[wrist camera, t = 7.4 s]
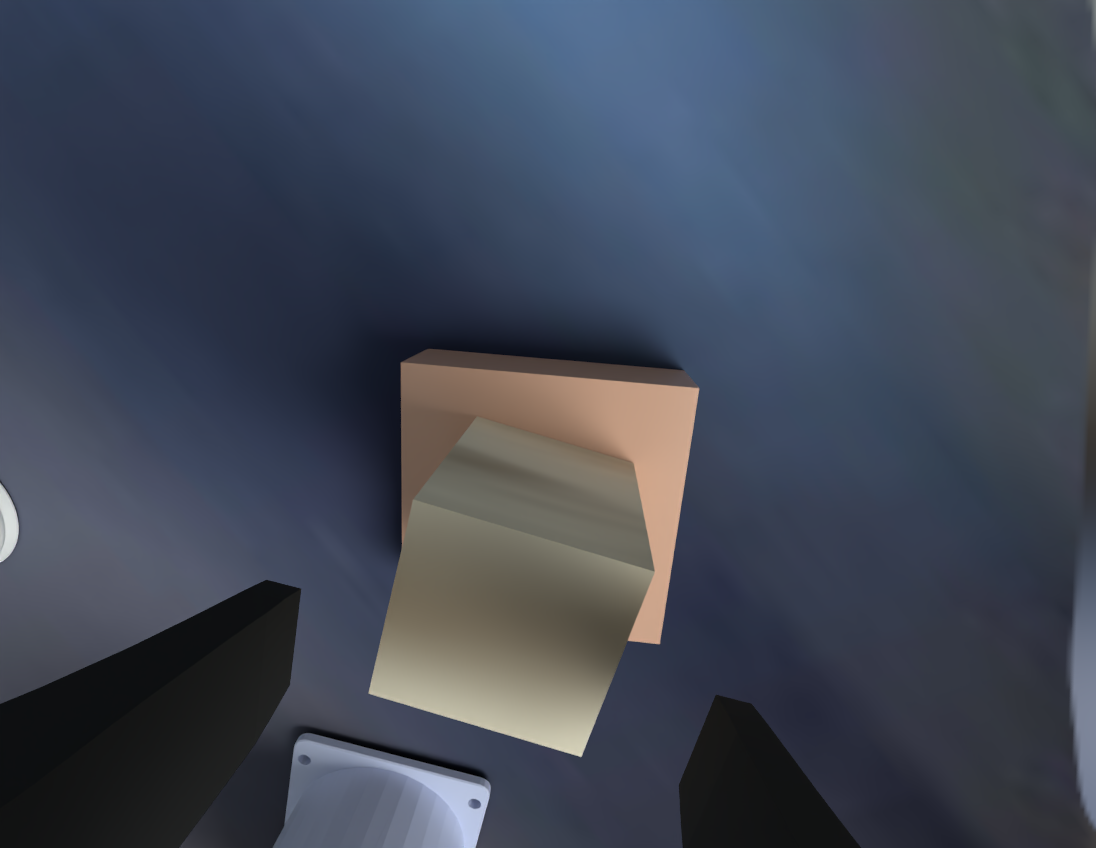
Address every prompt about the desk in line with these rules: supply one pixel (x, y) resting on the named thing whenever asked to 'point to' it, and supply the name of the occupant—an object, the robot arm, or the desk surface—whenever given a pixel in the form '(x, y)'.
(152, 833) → the robot arm
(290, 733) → the desk surface
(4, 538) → the chess piece
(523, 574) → the metal block
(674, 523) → the block
